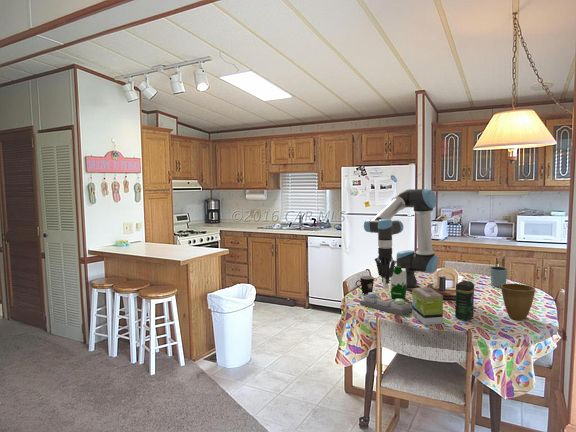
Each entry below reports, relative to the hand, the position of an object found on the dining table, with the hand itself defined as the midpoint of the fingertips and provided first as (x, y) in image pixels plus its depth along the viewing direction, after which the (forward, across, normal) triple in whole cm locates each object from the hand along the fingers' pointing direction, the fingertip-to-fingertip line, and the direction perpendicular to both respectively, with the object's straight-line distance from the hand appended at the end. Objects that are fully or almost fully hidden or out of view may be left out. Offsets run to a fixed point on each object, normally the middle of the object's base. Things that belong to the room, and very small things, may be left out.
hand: (385, 288), depth 220 cm
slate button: (+7, -9, -1) cm, 11 cm away
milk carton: (+11, -4, +18) cm, 22 cm away
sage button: (+7, +9, 0) cm, 11 cm away
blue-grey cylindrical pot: (+12, +27, +86) cm, 91 cm away
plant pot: (+11, +57, +31) cm, 66 cm away
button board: (+11, 0, -1) cm, 11 cm away
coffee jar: (+11, +38, +14) cm, 42 cm away
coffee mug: (+11, -26, +15) cm, 32 cm away
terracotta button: (+8, 0, -1) cm, 8 cm away
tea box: (+11, +26, -2) cm, 28 cm away
